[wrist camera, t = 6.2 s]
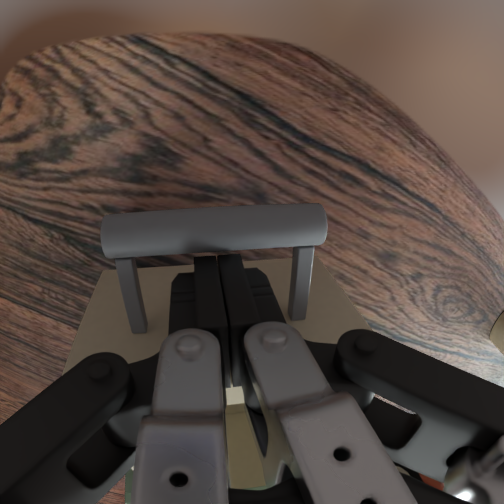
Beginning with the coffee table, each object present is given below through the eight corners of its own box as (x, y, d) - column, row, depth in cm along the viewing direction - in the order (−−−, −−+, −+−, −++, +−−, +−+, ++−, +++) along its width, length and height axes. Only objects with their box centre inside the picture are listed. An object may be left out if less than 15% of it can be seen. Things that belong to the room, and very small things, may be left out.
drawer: (87, 184, 13) (2, 265, 6) (325, 172, 15) (428, 237, 8) (147, 412, 20) (146, 503, 14) (294, 398, 22) (325, 483, 15)
